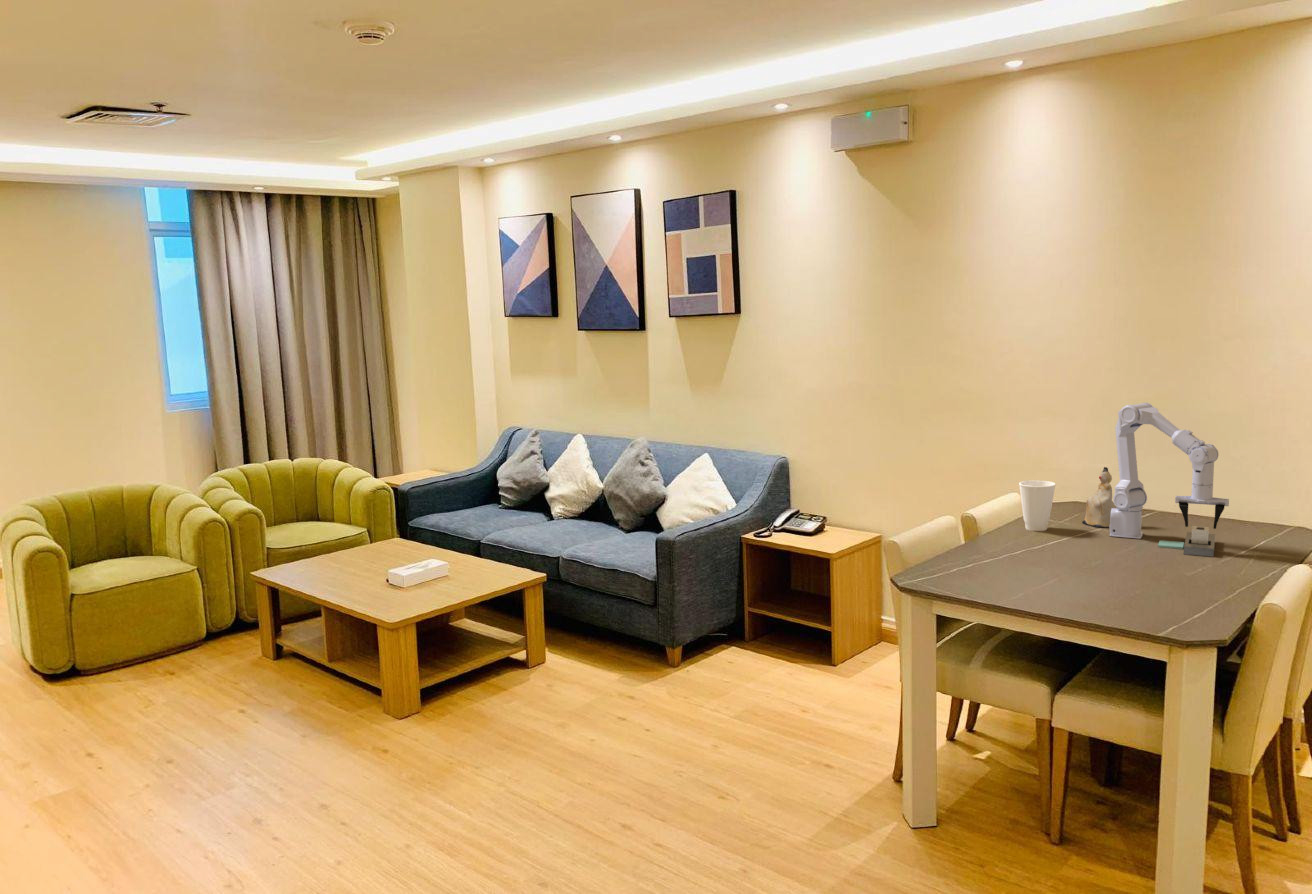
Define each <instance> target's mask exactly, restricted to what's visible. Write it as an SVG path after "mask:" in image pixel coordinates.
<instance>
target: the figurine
mask: <svg viewBox="0 0 1312 894" xmlns="http://www.w3.org/2000/svg"><path fill="white" fill-rule="evenodd" d="M1098 479H1099V481H1100V483H1098V489H1097V490H1096V491H1095V493H1093V494H1092V495H1090V496H1089V497H1087V499H1086V502H1085V504H1086V506H1085V516H1084V519H1083V521H1082V523H1081V524H1083V525H1085V526H1088V527H1089V526H1090V527H1092V528H1095V529H1110V516H1111V509H1112V508H1117V507H1116V506H1115V504H1114V501H1113V488H1112V485H1111V484H1110V483H1111V482H1112V480H1113V477H1112V475H1111V473H1110V471H1109V468H1108V467H1106V466H1104V467H1103V470H1102V471H1101V473H1100V475H1099V476H1098Z"/></svg>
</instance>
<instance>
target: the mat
mask: <svg viewBox="0 0 1312 894" xmlns="http://www.w3.org/2000/svg"><path fill="white" fill-rule="evenodd" d="M1158 541H1159V542H1158V544H1157V547H1158V548H1167V549H1176V550H1184V545H1185V541H1177V540H1176V541H1175V540H1162V539H1161V540H1160V539H1159V540H1158Z"/></svg>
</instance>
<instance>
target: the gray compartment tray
mask: <svg viewBox="0 0 1312 894" xmlns="http://www.w3.org/2000/svg"><path fill="white" fill-rule="evenodd" d="M1191 538H1192V531H1187V532H1186V536H1185V540H1184V547H1183V555H1188V556H1200V557H1210V558H1211V557H1212V558H1215V557H1214V556H1215V545H1216V533H1215V534H1214V533H1209V536H1208V545H1199V544H1191Z"/></svg>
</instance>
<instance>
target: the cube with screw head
mask: <svg viewBox="0 0 1312 894" xmlns="http://www.w3.org/2000/svg"><path fill="white" fill-rule="evenodd" d="M1191 532H1192V538H1191V544H1199V545H1208V536H1209V534H1210V528H1209V527H1207V526H1194V525H1192V526H1191Z"/></svg>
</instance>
